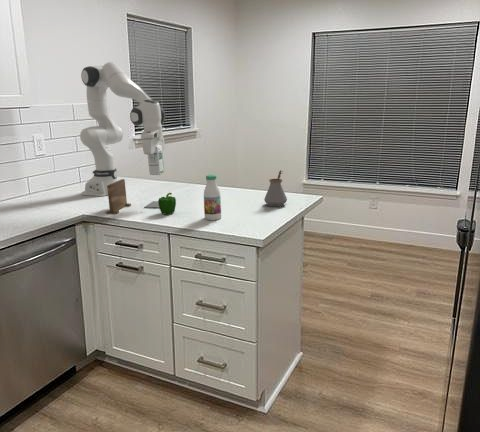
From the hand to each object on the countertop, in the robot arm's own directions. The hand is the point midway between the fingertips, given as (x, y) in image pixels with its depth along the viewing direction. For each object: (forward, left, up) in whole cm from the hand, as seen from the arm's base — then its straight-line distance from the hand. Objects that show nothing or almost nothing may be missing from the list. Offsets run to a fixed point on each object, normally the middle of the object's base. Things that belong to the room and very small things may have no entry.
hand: (155, 161), depth 229 cm
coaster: (0, 0, -23) cm, 23 cm away
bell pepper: (+10, -15, -23) cm, 29 cm away
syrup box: (0, 0, -7) cm, 7 cm away
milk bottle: (+34, -21, -23) cm, 46 cm away
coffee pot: (+60, +11, -23) cm, 66 cm away
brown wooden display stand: (-18, -10, -23) cm, 31 cm away
